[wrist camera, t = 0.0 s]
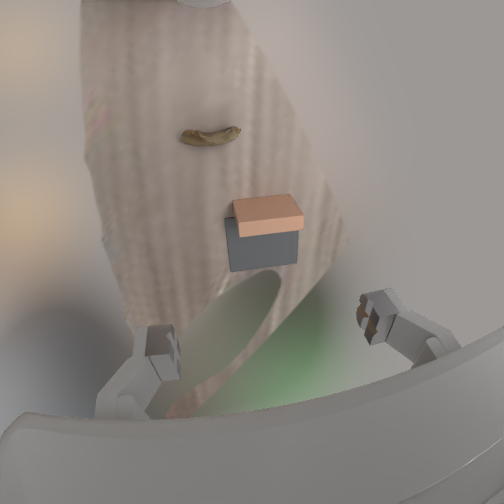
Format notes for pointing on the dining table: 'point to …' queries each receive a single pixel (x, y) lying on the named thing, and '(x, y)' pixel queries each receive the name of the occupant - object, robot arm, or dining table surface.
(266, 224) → the tile
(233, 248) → the mat
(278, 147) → the dining table surface
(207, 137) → the pottery shard
